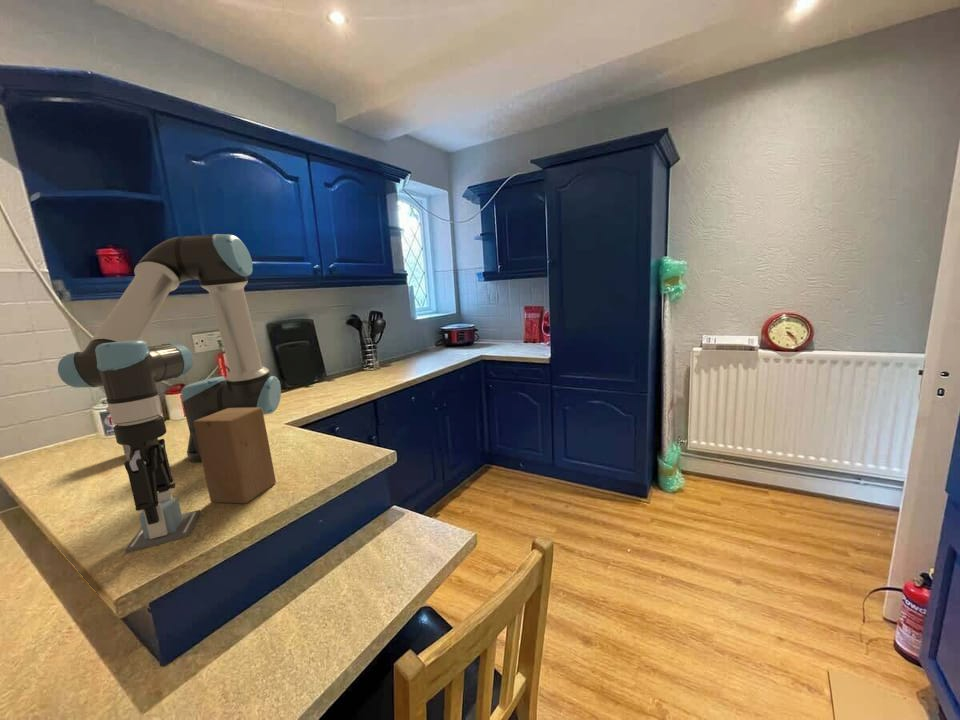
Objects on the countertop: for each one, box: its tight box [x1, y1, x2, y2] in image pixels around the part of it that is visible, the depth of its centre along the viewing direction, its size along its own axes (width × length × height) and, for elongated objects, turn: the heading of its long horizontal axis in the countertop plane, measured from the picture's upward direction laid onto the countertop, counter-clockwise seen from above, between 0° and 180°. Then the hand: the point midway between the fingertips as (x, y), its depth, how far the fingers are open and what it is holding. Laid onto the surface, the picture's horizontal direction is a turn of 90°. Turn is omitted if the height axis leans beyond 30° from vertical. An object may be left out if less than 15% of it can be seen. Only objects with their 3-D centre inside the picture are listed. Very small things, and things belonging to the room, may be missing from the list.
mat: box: [124, 509, 202, 554], centre depth 81 cm, size 10×10×1 cm
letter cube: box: [138, 497, 183, 539], centre depth 80 cm, size 5×5×5 cm
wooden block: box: [193, 407, 277, 504], centre depth 93 cm, size 10×10×20 cm
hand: (164, 527), depth 80 cm, fingers open, 5 cm apart
